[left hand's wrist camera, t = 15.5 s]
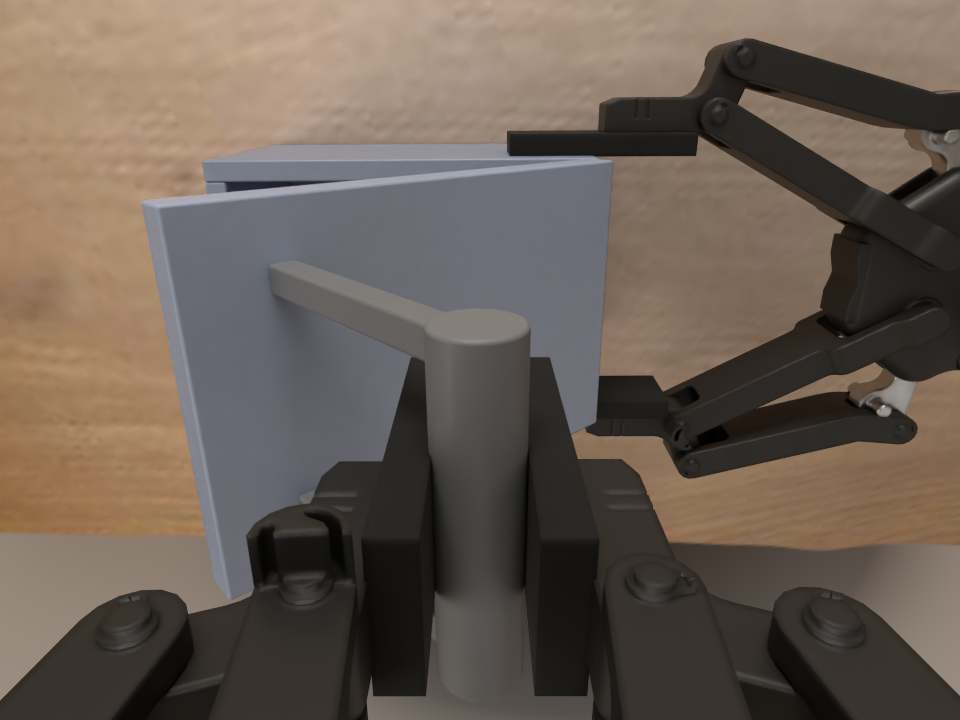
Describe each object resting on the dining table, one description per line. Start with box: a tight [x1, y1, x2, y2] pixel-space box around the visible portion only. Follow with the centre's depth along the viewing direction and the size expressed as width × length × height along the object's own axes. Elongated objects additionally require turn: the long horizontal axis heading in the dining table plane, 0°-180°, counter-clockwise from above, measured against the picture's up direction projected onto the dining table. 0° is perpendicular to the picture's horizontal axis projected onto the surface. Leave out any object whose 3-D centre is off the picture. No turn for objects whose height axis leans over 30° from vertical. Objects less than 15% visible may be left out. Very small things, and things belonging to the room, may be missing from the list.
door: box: [142, 159, 613, 703], centre depth 16 cm, size 14×10×8 cm
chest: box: [202, 143, 598, 194], centre depth 28 cm, size 13×10×9 cm
